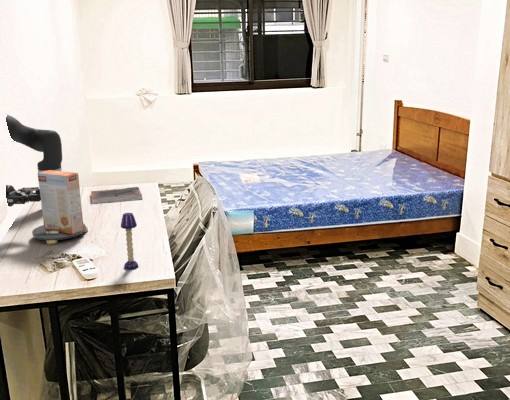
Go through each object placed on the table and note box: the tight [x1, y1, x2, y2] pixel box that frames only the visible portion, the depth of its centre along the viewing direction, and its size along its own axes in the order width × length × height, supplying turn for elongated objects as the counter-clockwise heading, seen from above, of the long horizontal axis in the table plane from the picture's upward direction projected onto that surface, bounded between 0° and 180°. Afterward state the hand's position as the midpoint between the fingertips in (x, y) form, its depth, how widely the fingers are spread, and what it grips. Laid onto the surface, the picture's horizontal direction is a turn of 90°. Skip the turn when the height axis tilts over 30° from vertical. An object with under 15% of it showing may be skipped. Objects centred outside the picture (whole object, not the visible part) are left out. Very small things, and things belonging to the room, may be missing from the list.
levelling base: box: [31, 223, 89, 246], centre depth 194 cm, size 19×18×4 cm
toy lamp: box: [120, 212, 139, 270], centre depth 163 cm, size 5×5×17 cm
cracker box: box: [37, 170, 84, 235], centre depth 190 cm, size 14×6×21 cm, turn 61°
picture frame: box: [90, 186, 143, 205], centre depth 248 cm, size 16×2×22 cm
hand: (44, 195), depth 191 cm, fingers open, 8 cm apart
